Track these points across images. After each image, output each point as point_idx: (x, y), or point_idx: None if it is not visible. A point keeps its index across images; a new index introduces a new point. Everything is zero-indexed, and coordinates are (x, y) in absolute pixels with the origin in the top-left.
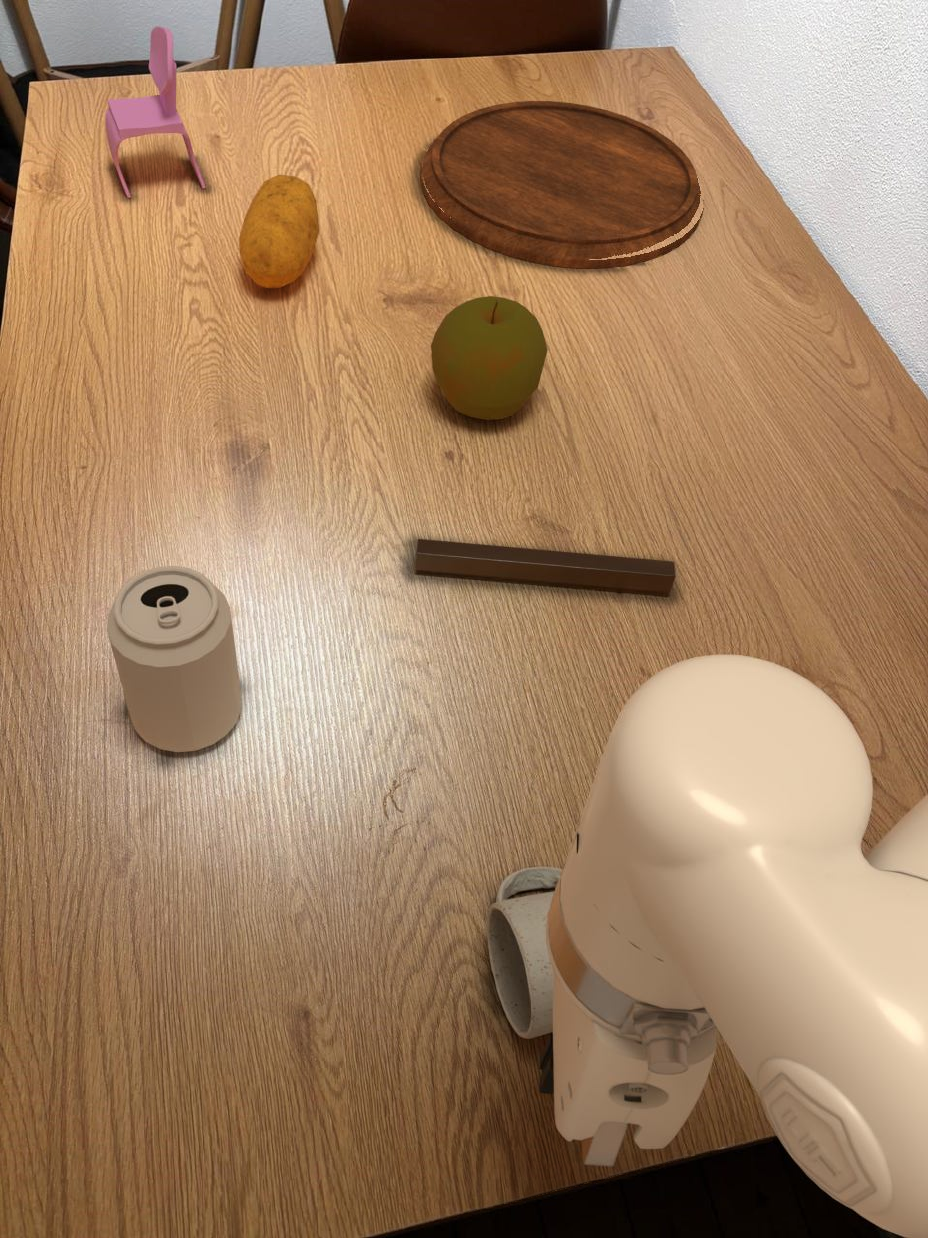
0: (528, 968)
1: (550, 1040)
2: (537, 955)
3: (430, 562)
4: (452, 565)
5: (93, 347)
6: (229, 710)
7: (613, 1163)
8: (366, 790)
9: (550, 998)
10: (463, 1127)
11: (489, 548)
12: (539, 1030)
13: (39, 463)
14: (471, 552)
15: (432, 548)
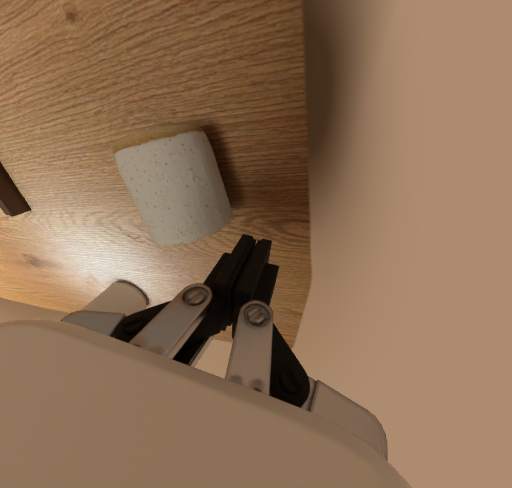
0: (184, 243)
1: (221, 329)
2: (174, 237)
3: (15, 207)
4: (9, 196)
5: (32, 292)
6: (120, 296)
7: (385, 450)
8: (136, 247)
9: (203, 225)
10: (276, 238)
11: None
12: (226, 219)
13: (77, 309)
14: None
15: (4, 208)
